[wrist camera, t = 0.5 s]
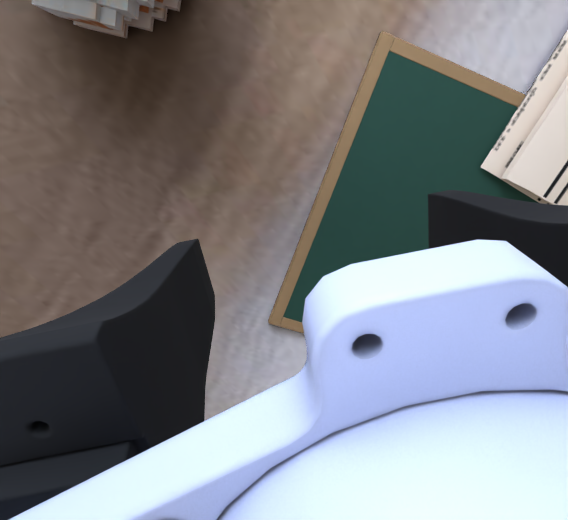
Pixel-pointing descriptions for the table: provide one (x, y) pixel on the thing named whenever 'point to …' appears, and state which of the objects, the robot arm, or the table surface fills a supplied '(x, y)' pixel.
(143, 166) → the table surface
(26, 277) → the table surface
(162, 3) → the decorative ornament
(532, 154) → the newspaper
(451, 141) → the desk mat
